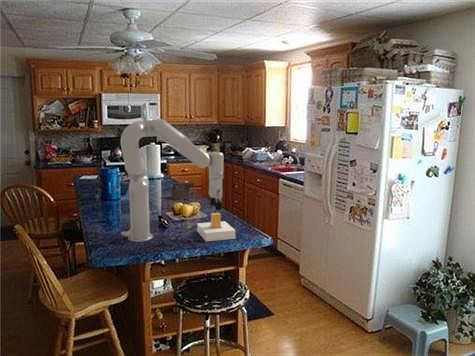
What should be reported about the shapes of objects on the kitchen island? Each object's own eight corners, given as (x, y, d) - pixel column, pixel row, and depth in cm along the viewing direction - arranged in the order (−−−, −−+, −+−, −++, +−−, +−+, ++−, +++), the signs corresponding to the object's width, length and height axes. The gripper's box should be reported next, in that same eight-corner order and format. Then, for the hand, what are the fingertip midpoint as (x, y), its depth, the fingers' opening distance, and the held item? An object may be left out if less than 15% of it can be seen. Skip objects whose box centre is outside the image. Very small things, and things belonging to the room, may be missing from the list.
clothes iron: (190, 201, 292) (190, 183, 289) (170, 199, 296) (170, 181, 294) (195, 198, 299) (194, 181, 297) (175, 197, 304) (175, 179, 302)
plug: (212, 233, 212) (212, 215, 211) (210, 231, 216) (210, 213, 214) (220, 232, 214) (220, 214, 212) (218, 230, 217) (218, 212, 216)
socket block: (205, 241, 204) (205, 233, 203) (197, 231, 221) (197, 223, 220) (235, 238, 209) (235, 230, 209) (224, 228, 226) (224, 221, 225)
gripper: (204, 173, 216) (204, 204, 219) (213, 178, 200) (213, 212, 203) (218, 172, 219) (217, 203, 222) (228, 178, 203) (227, 211, 206)
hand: (215, 207), depth 212 cm, fingers open, 9 cm apart
